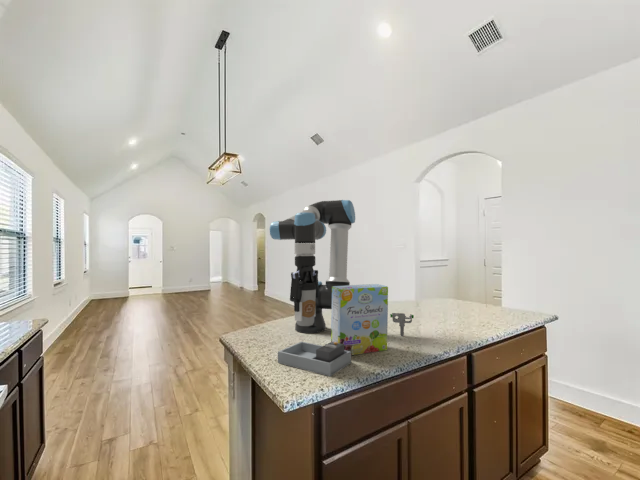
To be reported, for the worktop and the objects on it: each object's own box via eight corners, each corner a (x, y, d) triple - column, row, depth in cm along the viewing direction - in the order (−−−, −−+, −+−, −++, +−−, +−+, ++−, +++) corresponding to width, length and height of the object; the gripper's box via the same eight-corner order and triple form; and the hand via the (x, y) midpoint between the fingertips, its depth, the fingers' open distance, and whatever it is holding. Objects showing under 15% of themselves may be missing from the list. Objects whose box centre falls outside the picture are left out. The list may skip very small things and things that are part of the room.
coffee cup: (299, 328, 111) (299, 284, 112) (290, 322, 119) (290, 282, 119) (320, 325, 115) (320, 283, 115) (310, 320, 123) (310, 280, 123)
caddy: (277, 362, 115) (277, 351, 115) (301, 351, 127) (301, 341, 127) (330, 376, 103) (330, 363, 103) (351, 362, 115) (350, 351, 115)
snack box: (340, 358, 119) (339, 288, 119) (330, 351, 127) (329, 285, 127) (389, 350, 127) (388, 285, 128) (376, 344, 135) (376, 282, 136)
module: (316, 367, 108) (316, 347, 108) (331, 358, 117) (331, 340, 117) (329, 370, 105) (329, 350, 106) (344, 361, 114) (344, 342, 114)
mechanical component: (413, 337, 145) (413, 315, 145) (390, 336, 147) (390, 314, 147) (413, 335, 148) (413, 313, 148) (390, 334, 150) (390, 312, 150)
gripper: (296, 256, 107) (296, 325, 106) (328, 254, 124) (329, 314, 123) (278, 255, 111) (278, 322, 110) (312, 254, 128) (312, 312, 128)
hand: (305, 318), depth 117 cm, fingers closed on coffee cup, 7 cm apart
